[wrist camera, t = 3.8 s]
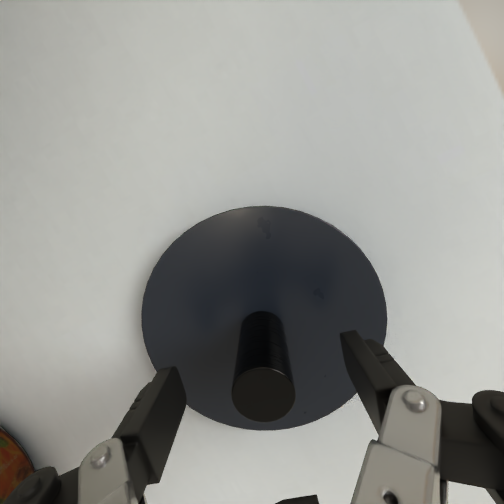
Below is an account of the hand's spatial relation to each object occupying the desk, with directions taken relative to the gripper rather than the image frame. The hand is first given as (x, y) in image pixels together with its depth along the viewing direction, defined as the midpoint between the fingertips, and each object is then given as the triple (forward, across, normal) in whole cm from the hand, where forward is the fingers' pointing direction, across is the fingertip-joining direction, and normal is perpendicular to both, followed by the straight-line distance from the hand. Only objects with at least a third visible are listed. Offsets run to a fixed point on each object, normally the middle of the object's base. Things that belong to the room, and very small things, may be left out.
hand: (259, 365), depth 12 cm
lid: (+4, 0, 0) cm, 4 cm away
